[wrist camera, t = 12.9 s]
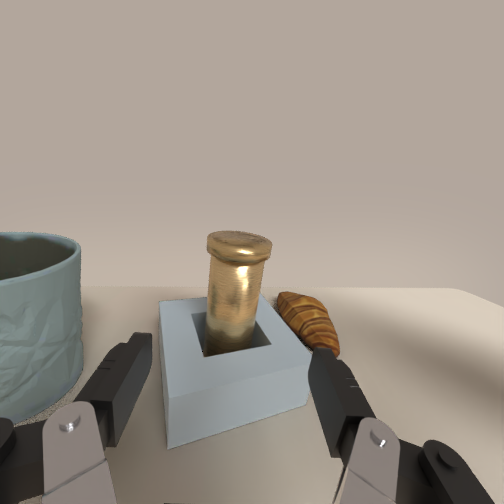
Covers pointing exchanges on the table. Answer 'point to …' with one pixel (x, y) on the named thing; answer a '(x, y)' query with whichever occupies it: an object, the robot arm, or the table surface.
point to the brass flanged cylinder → (233, 290)
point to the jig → (226, 373)
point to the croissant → (308, 320)
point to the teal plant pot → (38, 321)
